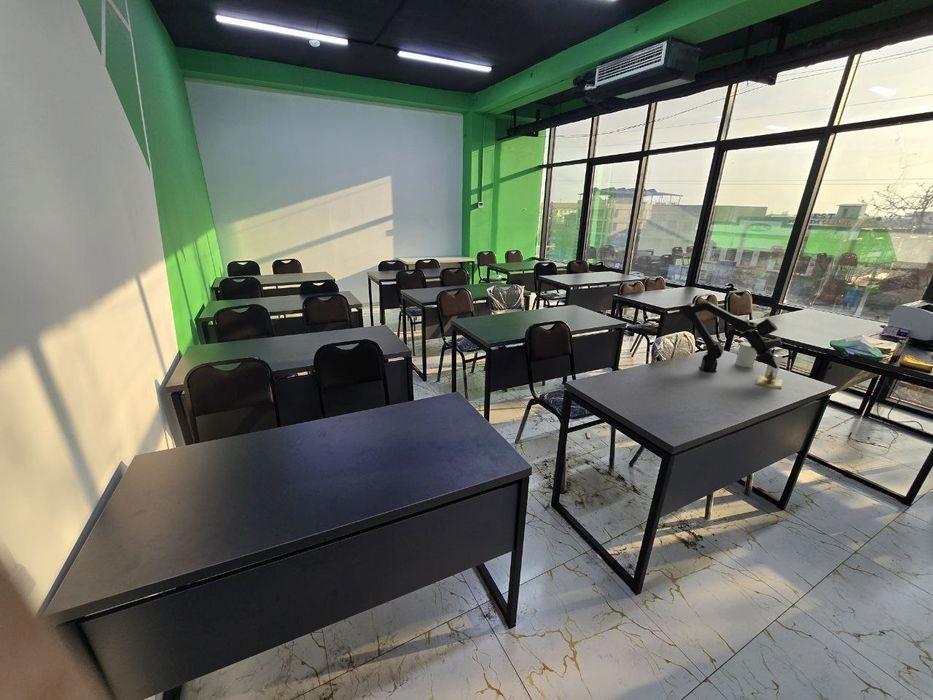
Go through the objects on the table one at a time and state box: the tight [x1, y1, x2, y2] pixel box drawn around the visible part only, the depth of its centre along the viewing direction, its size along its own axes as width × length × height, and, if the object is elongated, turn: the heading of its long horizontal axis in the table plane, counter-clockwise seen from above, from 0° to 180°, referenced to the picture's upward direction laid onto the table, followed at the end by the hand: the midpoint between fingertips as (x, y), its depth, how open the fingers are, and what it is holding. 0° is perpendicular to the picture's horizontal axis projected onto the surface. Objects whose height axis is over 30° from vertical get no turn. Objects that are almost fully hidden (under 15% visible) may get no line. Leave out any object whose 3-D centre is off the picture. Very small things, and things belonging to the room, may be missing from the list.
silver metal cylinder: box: [763, 353, 783, 380], centre depth 194 cm, size 5×5×12 cm
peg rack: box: [755, 375, 784, 390], centre depth 196 cm, size 10×10×5 cm
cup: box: [735, 341, 757, 368], centre depth 219 cm, size 8×8×12 cm
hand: (777, 366), depth 193 cm, fingers closed on silver metal cylinder, 5 cm apart
